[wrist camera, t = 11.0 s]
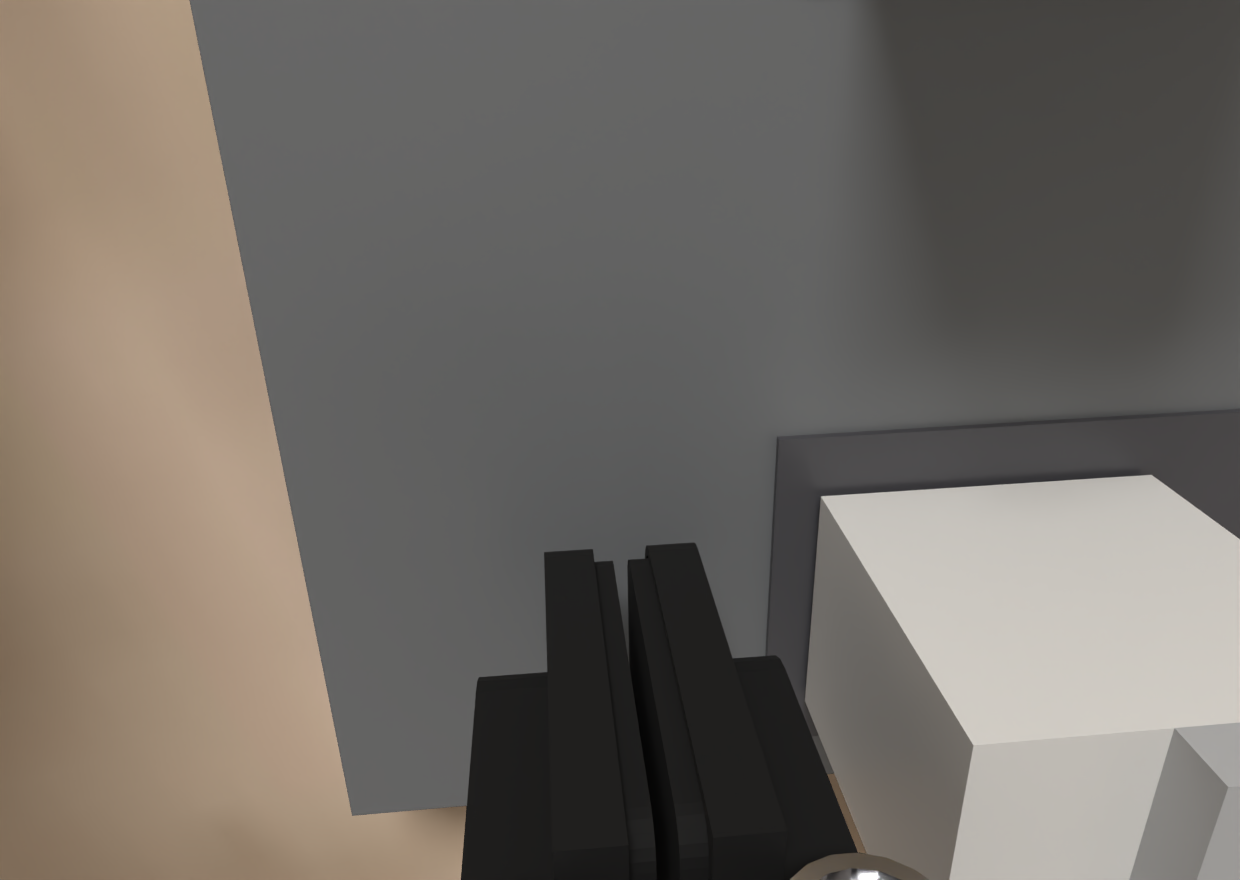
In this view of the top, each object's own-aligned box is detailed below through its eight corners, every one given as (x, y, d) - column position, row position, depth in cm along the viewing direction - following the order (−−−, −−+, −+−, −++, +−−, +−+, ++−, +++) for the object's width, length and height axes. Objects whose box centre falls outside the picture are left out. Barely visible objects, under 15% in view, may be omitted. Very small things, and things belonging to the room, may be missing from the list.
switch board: (2286, -589, 10) (2868, -789, 7) (1652, 591, 16) (1852, 693, 14) (154, -643, 8) (-4, -923, 6) (379, 691, 14) (349, 826, 12)
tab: (1151, 475, 11) (1538, 758, 7) (1101, 676, 12) (1400, 1021, 8) (820, 496, 11) (1010, 807, 6) (805, 701, 12) (955, 1072, 8)
